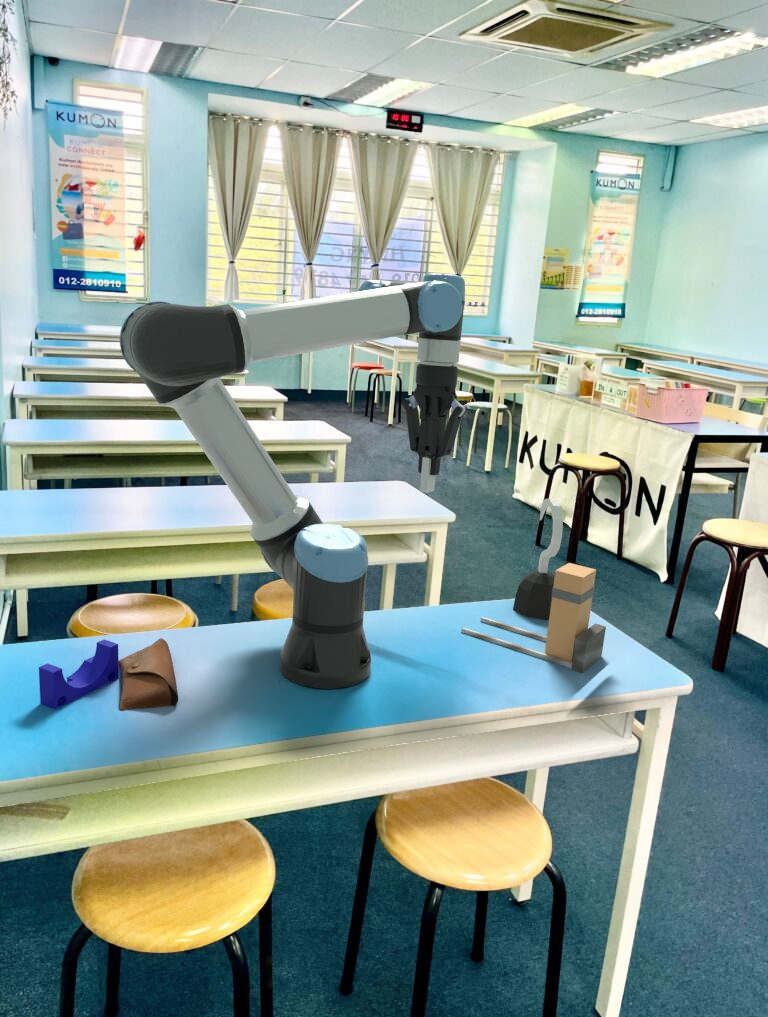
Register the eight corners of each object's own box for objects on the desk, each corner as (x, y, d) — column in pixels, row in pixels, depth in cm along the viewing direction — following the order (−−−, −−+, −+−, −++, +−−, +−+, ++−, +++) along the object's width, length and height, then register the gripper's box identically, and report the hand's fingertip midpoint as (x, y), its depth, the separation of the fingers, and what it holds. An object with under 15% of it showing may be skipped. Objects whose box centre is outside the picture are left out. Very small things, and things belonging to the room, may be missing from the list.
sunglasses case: (115, 658, 128) (136, 624, 127) (153, 675, 131) (174, 641, 130) (118, 712, 111) (143, 673, 111) (162, 729, 114) (186, 691, 114)
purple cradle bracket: (98, 671, 123) (97, 636, 122) (118, 679, 121) (118, 644, 120) (33, 702, 113) (31, 664, 112) (54, 711, 111) (53, 672, 110)
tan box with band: (543, 656, 137) (554, 570, 133) (557, 645, 142) (568, 562, 138) (571, 665, 134) (583, 577, 130) (585, 654, 139) (597, 569, 135)
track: (459, 640, 145) (462, 603, 143) (482, 626, 152) (486, 591, 150) (581, 680, 132) (586, 641, 130) (600, 664, 139) (605, 626, 137)
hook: (504, 606, 164) (517, 491, 158) (554, 607, 165) (569, 493, 159) (520, 627, 153) (534, 504, 147) (573, 628, 154) (589, 506, 148)
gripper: (479, 366, 139) (467, 494, 145) (418, 360, 146) (409, 482, 152) (458, 367, 133) (446, 500, 139) (396, 360, 140) (387, 487, 146)
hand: (427, 491), depth 145 cm, fingers closed
